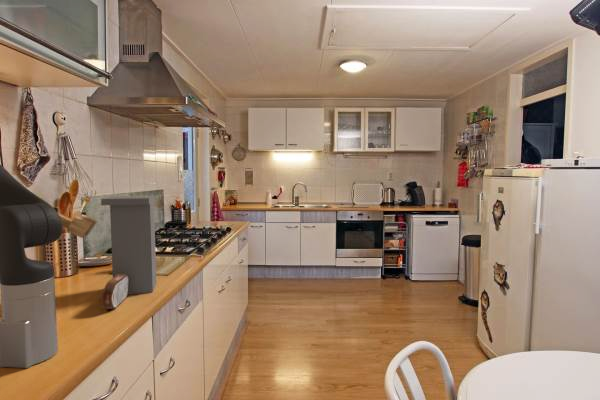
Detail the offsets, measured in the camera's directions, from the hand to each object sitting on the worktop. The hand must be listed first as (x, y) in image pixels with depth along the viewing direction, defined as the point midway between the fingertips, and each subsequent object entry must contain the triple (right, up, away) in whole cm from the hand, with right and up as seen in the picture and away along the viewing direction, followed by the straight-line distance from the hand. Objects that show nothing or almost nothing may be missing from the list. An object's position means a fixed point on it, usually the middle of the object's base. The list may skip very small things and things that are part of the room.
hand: (55, 211), depth 114 cm
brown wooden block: (+1, -4, +1) cm, 4 cm away
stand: (+21, -27, +8) cm, 35 cm away
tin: (+23, -29, -6) cm, 37 cm away
